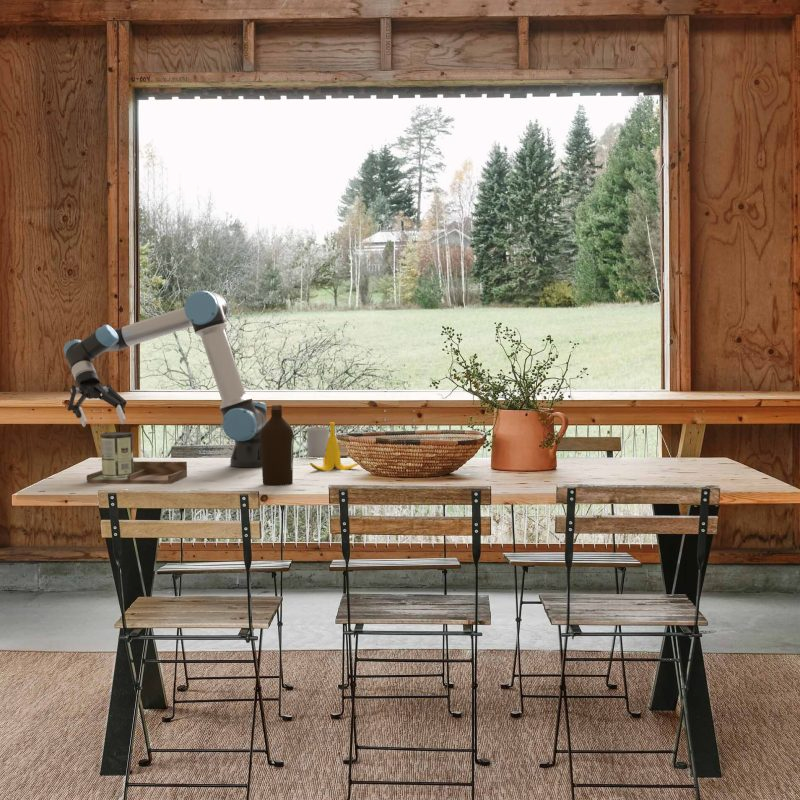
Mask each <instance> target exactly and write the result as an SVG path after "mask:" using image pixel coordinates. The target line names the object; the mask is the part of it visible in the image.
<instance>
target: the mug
mask: <svg viewBox="0 0 800 800" xmlns="http://www.w3.org/2000/svg"><path fill="white" fill-rule="evenodd" d="M306 430H307V431H306V433H307V434H306V436H307V438H306V439H307V441H306V442H307V455H306V456H307V457H308V458H324V457H325V452H326V446H327V442H328V439H329V436H330V431H329V430H330V427H325V426H324V427H323V426H319V427H308V428H306Z"/></svg>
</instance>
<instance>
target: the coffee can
mask: <svg viewBox="0 0 800 800" xmlns="http://www.w3.org/2000/svg"><path fill="white" fill-rule="evenodd" d="M133 436H134V432H130V431H117V432H116V431H115V432H103V433H101V434H100V446H101V447H100V449H101V470H102V477H105V478H122V477H127V475H130V474H133V473H134V465H133V461H134V440H133V439H134V438H133Z"/></svg>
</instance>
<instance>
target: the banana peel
mask: <svg viewBox="0 0 800 800" xmlns="http://www.w3.org/2000/svg"><path fill="white" fill-rule="evenodd" d="M335 424H336V422H334V421H333V422H332V421H330V422H329V430H330V431H329V439H328V442H327V446H326V452H325V457H322V458H323V460H322V462H323V463H322V466H318V465H316V464H315V463H312V462H309V465H310V466H311V467H312V468H313V469H314V470H317V471H323V472H330V471H332V470H334V468H337V470H339V471H347V470H350V469H352V468H354V467H356V466H358V465H359V464H357V462H355V463H353V464H350V465H346V464H345V465H344V464H342V461H341V451H340V446H339V442H338V440H337V437H336V434H335V427H336V426H335Z"/></svg>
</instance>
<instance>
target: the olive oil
mask: <svg viewBox="0 0 800 800" xmlns="http://www.w3.org/2000/svg"><path fill="white" fill-rule="evenodd" d="M282 408H283V407H282V404H272V405H271V410H270V414H271V417H270V418H269V419H268V420H267V423H266V424H265V425H264V426H263V428H262V430H261V433H260V443H261V458H262V467H261V474H262V485H264V486H269V487H271V486H272V487H277V486H279V487H281V486H288V485H292V484H293V483H294V482H293V481H294V480H293V479H294V478H293V476H294V474H293V473H294V444H295V443H294V440H295V437H294V436H295V434H294V430H293V428H292V426H291V425H290V424H289V423H288V422H287V421H286V420H285V419H284V418H283V410H282Z"/></svg>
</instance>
